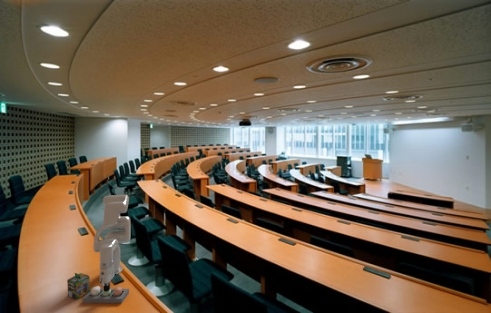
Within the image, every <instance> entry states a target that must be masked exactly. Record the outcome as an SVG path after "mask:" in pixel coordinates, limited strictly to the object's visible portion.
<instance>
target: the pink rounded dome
mask: <svg viewBox="0 0 491 313" xmlns="http://www.w3.org/2000/svg"><path fill="white" fill-rule="evenodd" d="M113 289H114V297H120V296H121V295H122V289H123V287H122V286H119V285H118V286H116V287H114V288H113Z"/></svg>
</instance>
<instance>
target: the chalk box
mask: <svg viewBox="0 0 491 313" xmlns="http://www.w3.org/2000/svg"><path fill="white" fill-rule="evenodd" d="M90 286H91V284H90V275H88V274H85V273H82V272H80V273H77V272H74V276H72V277H70V278H68V279H67V296H68V297H69V298H72V299H73V300H76V301H78V299H81V297H85V296H86V295H87V294H88V293H89V292H90V291H91V287H90Z"/></svg>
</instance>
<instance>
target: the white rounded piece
mask: <svg viewBox="0 0 491 313" xmlns="http://www.w3.org/2000/svg"><path fill="white" fill-rule="evenodd" d="M100 288H101V286H99V285H96V286H94V287H92V288H90V291H91V295H92V296H99V295H100Z"/></svg>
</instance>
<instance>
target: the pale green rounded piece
mask: <svg viewBox="0 0 491 313" xmlns="http://www.w3.org/2000/svg"><path fill="white" fill-rule="evenodd" d="M111 289H112V288H111V287H110V290H109V291H104V290H103V296H106V297H109V296H110V295H111Z"/></svg>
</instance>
